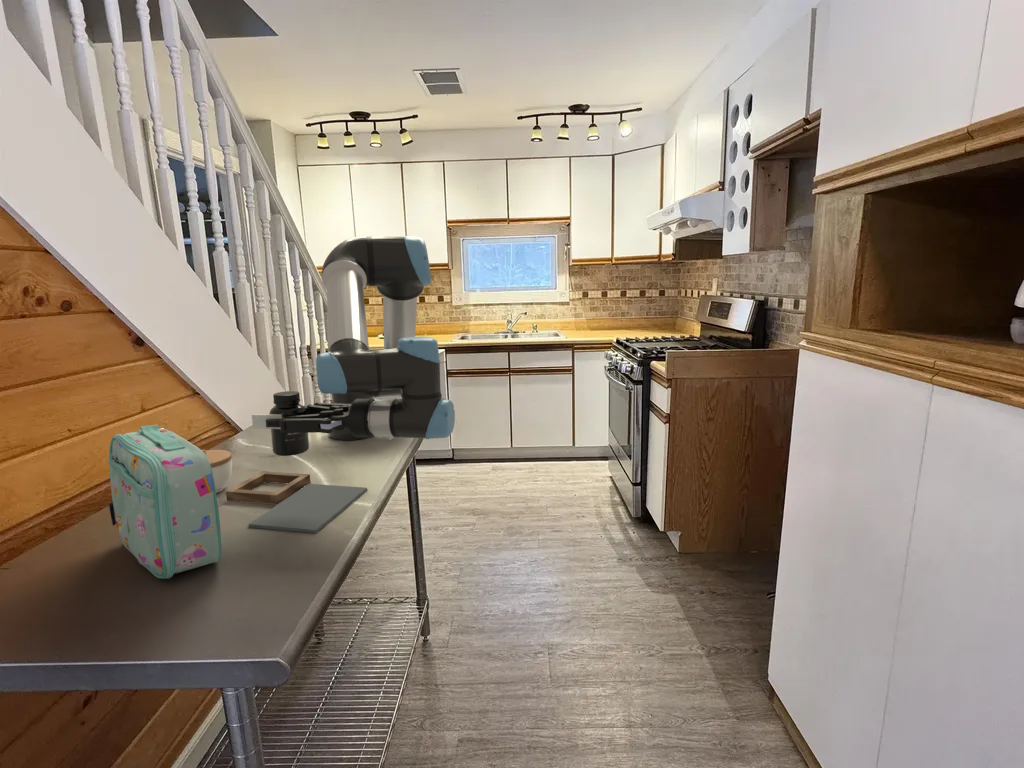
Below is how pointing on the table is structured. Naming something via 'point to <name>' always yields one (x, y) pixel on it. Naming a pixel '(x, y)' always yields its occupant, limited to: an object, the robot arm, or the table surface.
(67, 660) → the table surface
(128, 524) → the lunch box
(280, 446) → the supplement bottle
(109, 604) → the table surface
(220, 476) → the lidded jar
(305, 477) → the walnut collar
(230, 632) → the table surface
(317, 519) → the slate mat
